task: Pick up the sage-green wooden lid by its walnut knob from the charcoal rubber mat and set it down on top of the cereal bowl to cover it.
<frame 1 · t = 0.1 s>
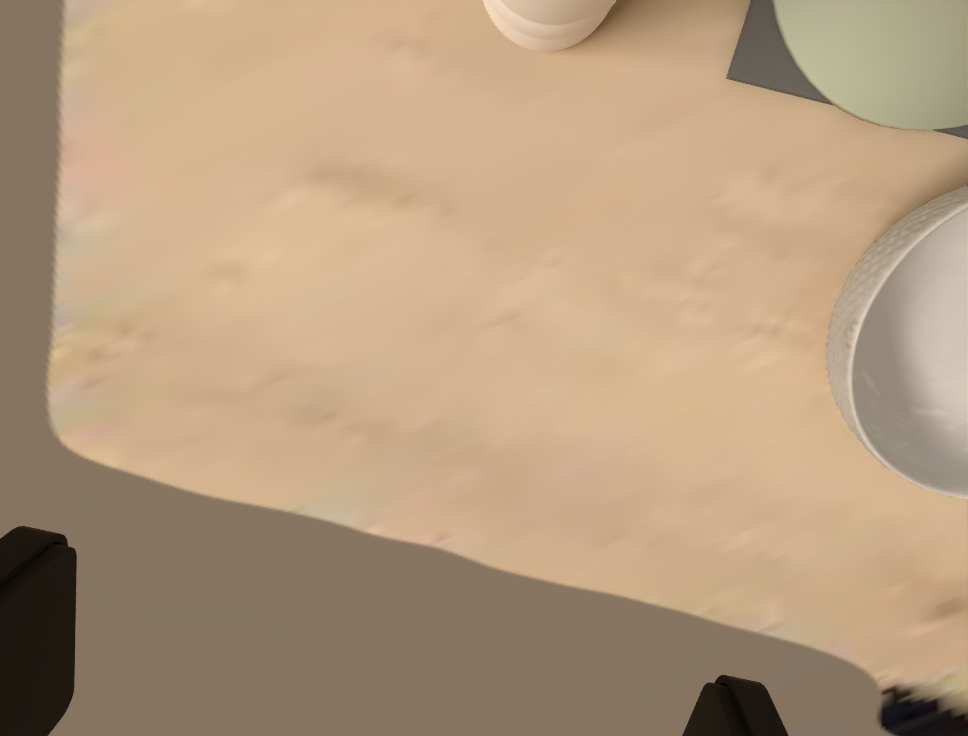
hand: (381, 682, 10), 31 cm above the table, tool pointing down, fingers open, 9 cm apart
cereal bowl: (936, 314, 39), on the table
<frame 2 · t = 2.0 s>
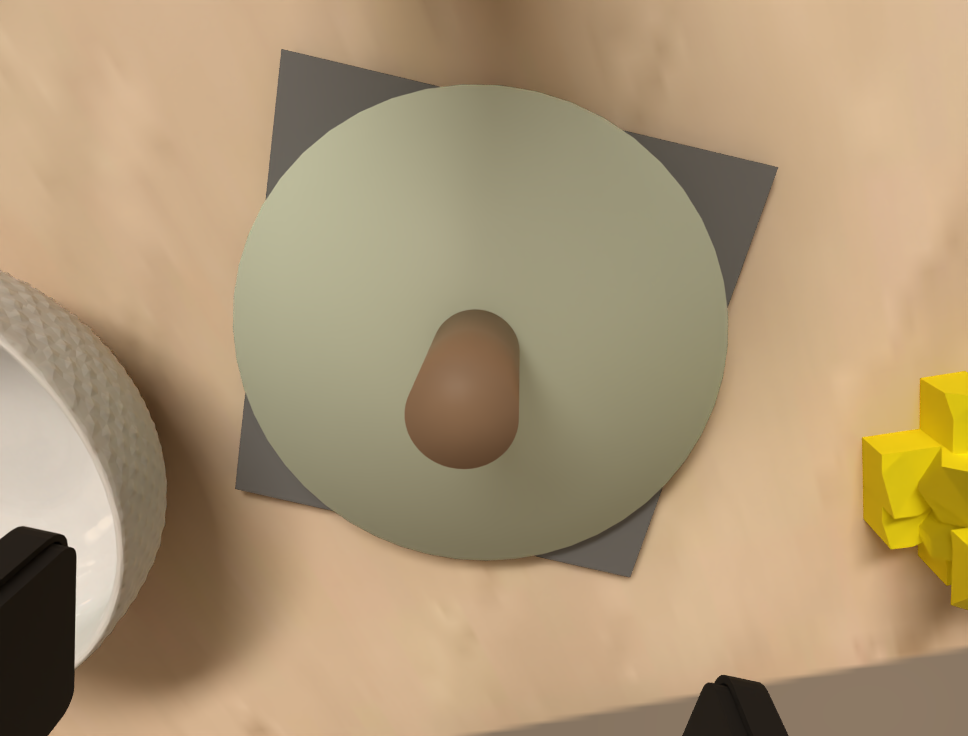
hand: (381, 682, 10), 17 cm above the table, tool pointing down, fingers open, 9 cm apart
lid: (477, 345, 25), point 1 cm above the table, touching mat
cereal bowl: (25, 419, 28), on the table
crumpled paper: (935, 464, 26), on the table
mat: (478, 340, 25), on the table
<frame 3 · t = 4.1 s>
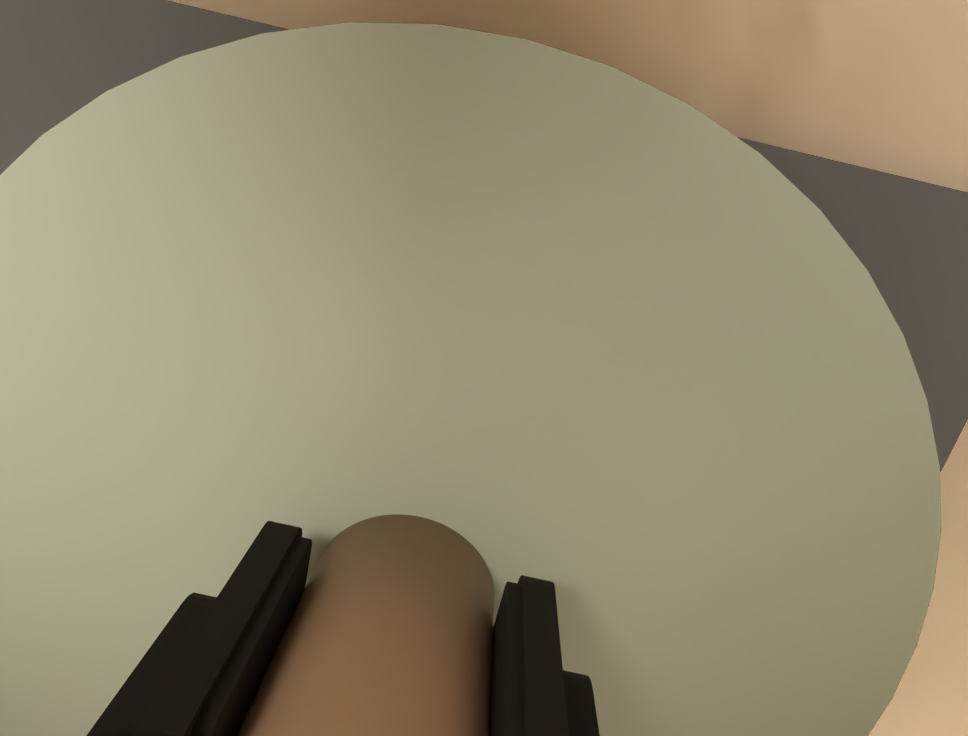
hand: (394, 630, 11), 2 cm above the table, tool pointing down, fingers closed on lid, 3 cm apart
lid: (410, 566, 12), point 1 cm above the table, touching gripper, mat
mat: (414, 547, 13), on the table
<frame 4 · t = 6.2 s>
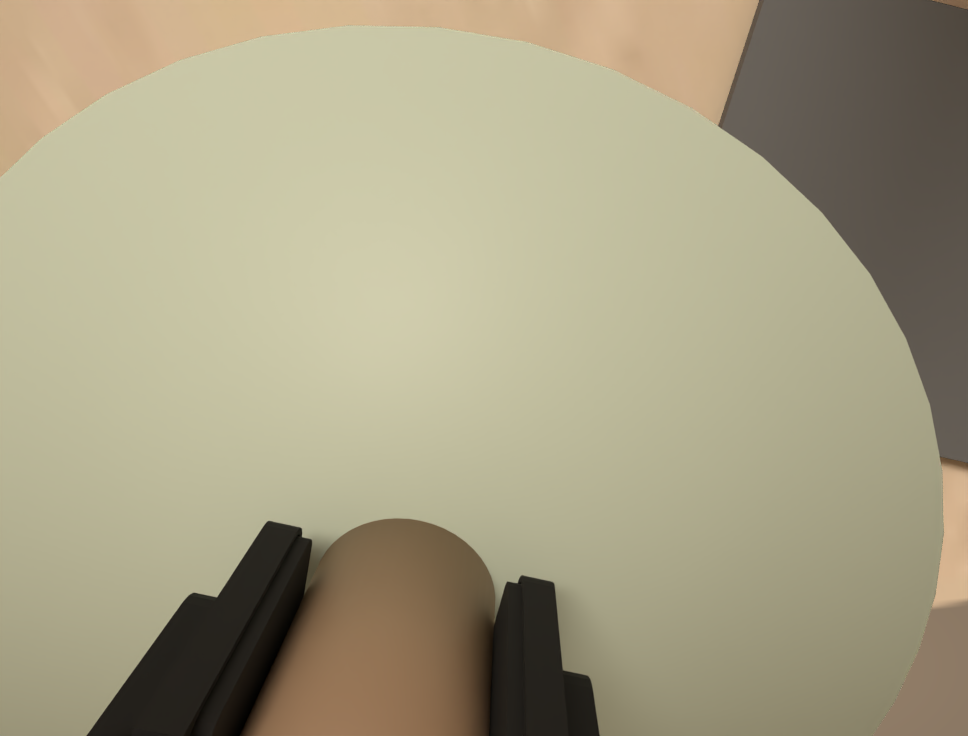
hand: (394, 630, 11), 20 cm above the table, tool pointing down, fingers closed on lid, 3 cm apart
lid: (410, 569, 12), point 18 cm above the table, touching gripper
mat: (891, 242, 27), on the table
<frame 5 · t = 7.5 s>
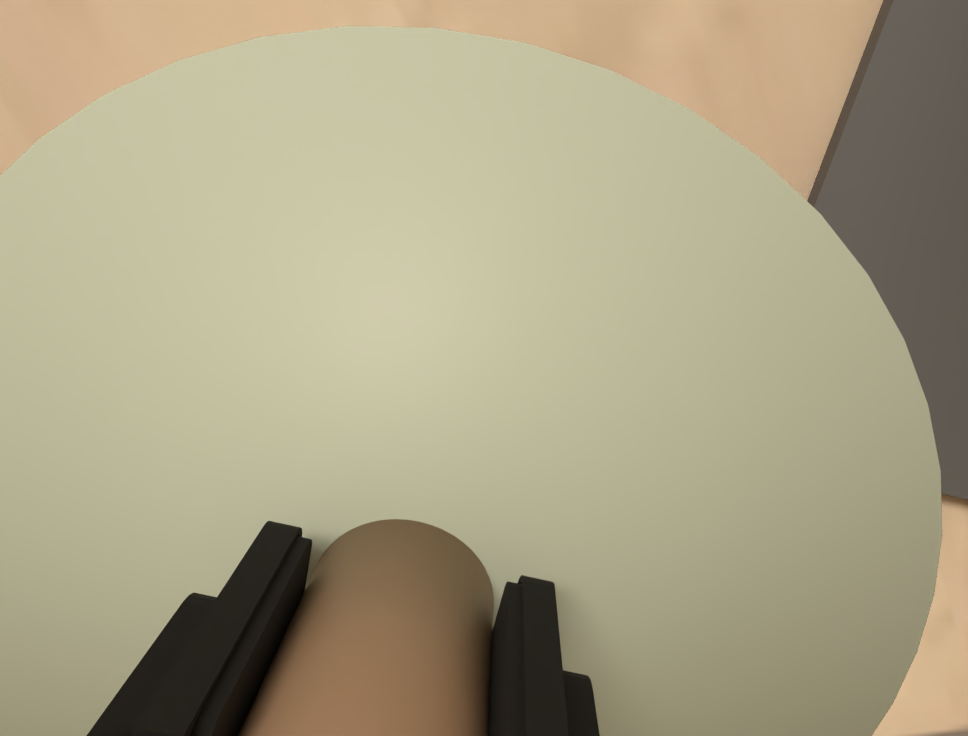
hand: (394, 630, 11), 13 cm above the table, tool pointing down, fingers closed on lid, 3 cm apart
lid: (409, 570, 12), point 12 cm above the table, touching gripper
when the fingers open (10 cm above the table, at t = 8.3 s): lid drops 1 cm, resting on cereal bowl.
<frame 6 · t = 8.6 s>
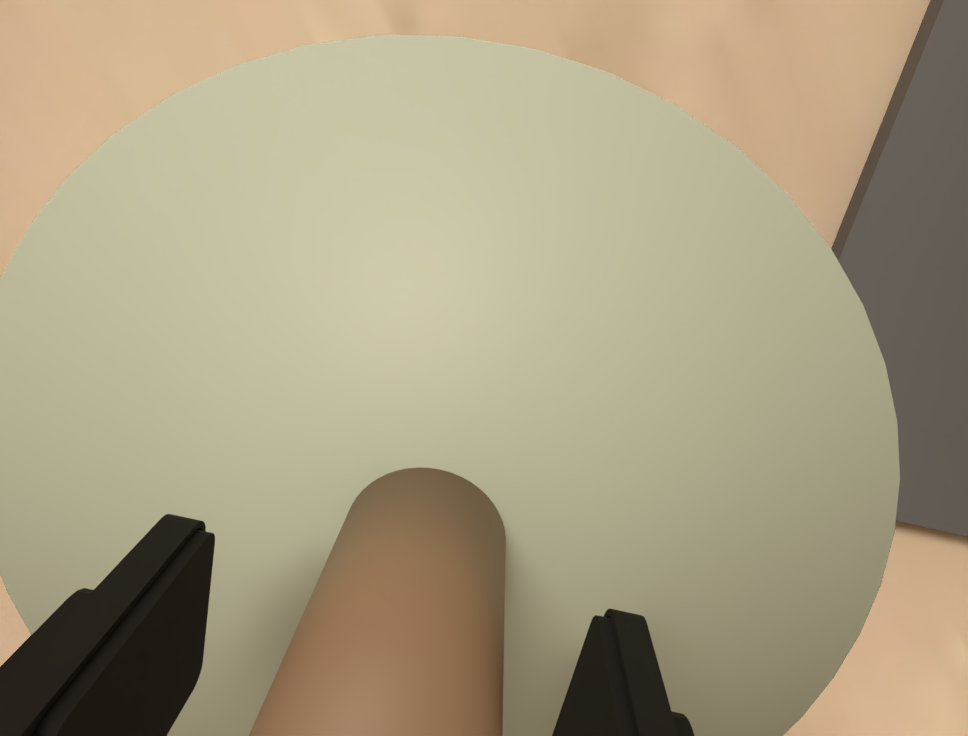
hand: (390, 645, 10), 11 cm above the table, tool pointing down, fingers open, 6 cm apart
lid: (429, 518, 14), point 7 cm above the table, touching cereal bowl
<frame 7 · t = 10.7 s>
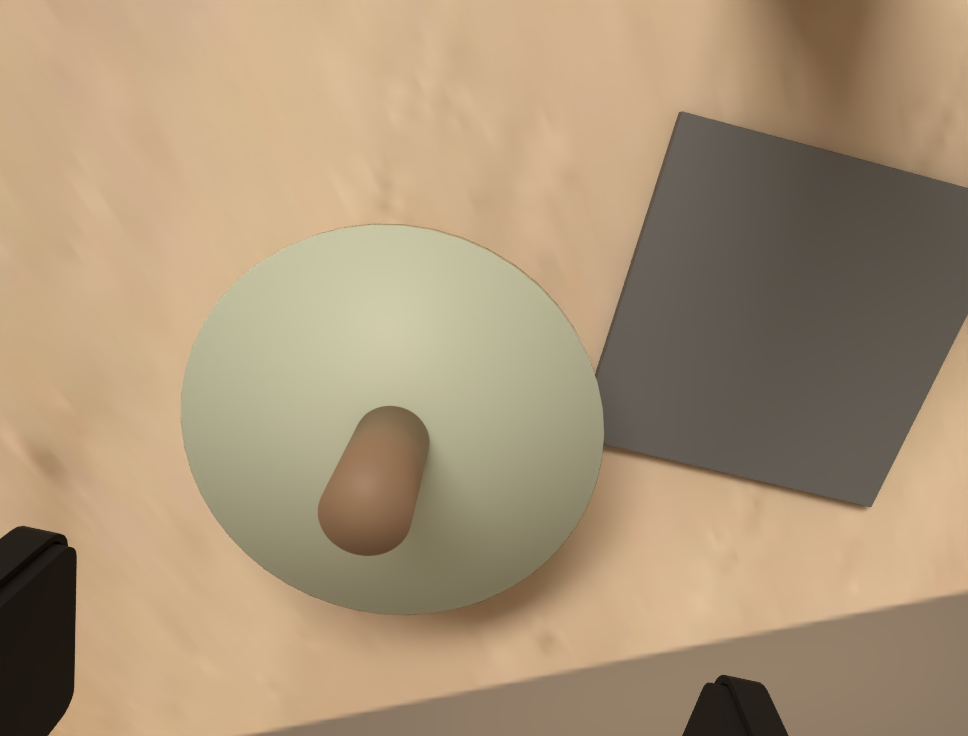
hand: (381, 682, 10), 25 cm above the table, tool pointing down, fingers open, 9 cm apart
lid: (394, 432, 29), point 7 cm above the table, touching cereal bowl
mat: (780, 325, 34), on the table
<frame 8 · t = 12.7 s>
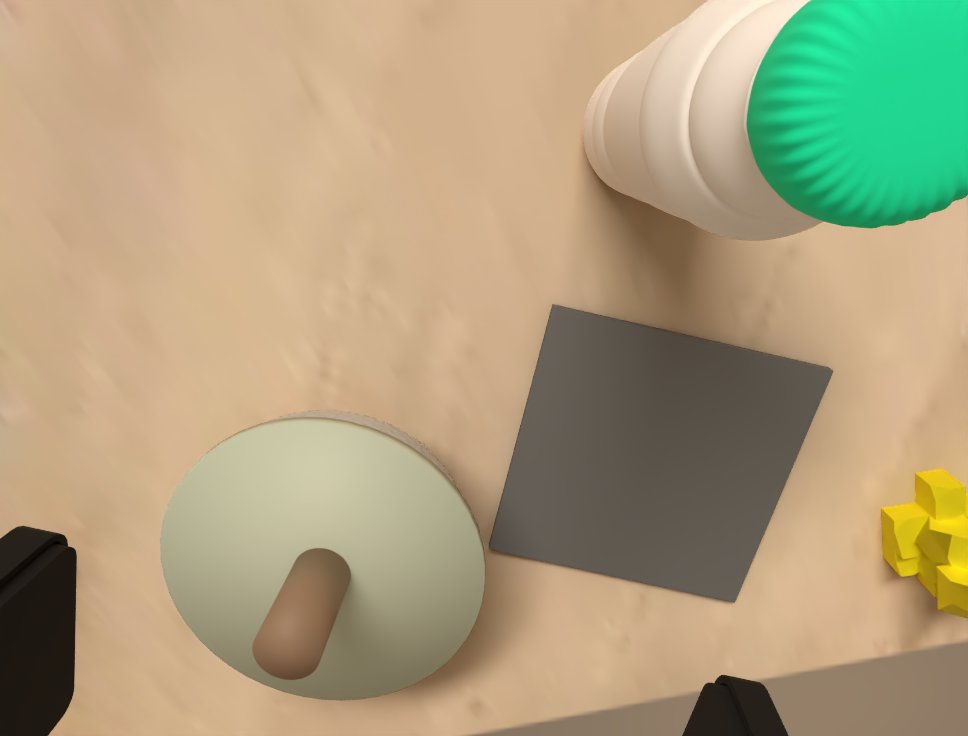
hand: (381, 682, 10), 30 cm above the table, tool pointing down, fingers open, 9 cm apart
lid: (325, 564, 37), point 7 cm above the table, touching cereal bowl
cereal bowl: (351, 499, 44), on the table, touching lid
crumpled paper: (926, 522, 43), on the table
water bottle: (646, 129, 35), on the table
mat: (648, 461, 42), on the table
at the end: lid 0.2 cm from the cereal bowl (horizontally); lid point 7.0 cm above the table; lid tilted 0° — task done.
